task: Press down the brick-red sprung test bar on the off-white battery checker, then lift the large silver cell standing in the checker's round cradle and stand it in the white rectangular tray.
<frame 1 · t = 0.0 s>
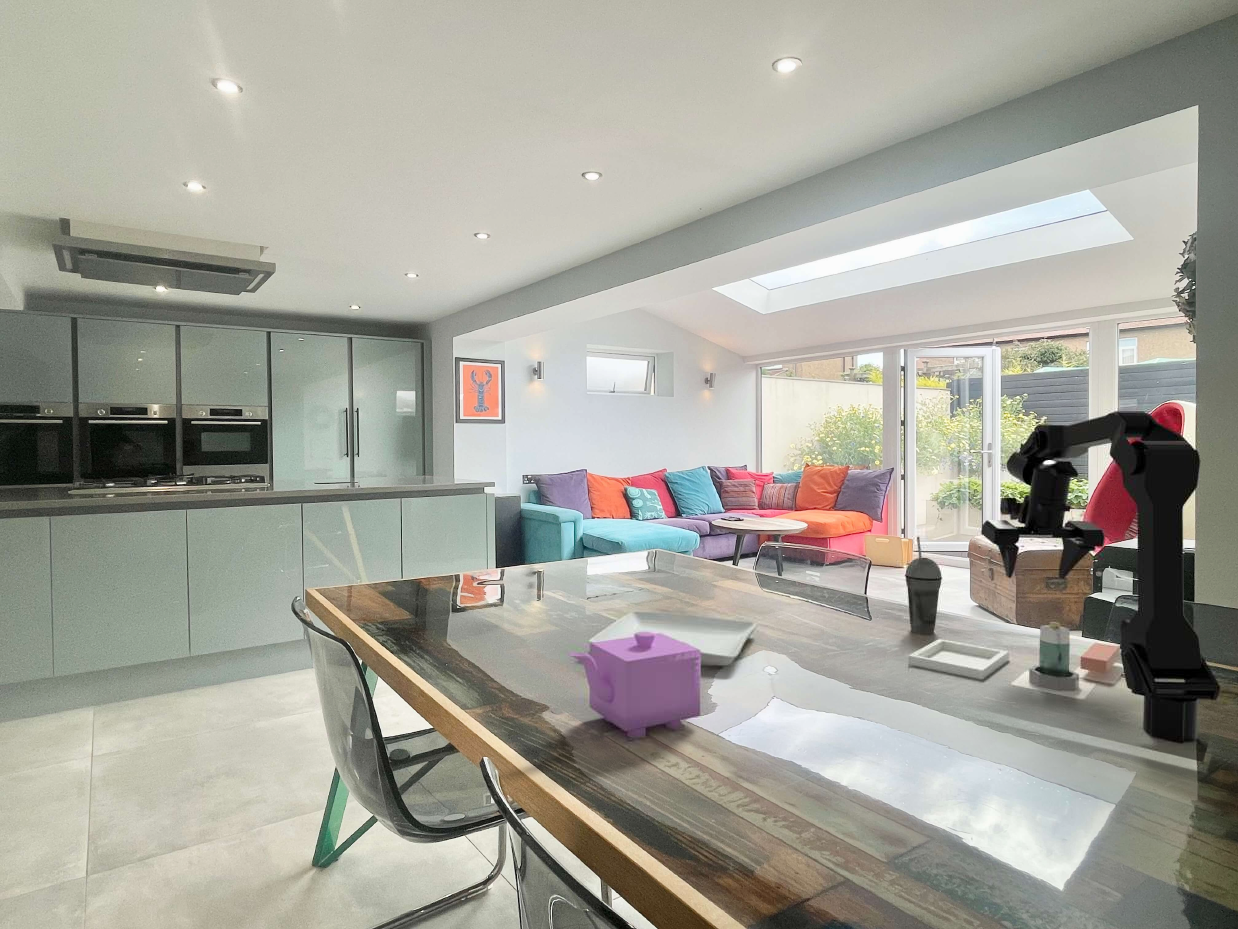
hand: (1034, 577, 130), 15 cm above the table, tool pointing down, fingers open, 9 cm apart
silver cell: (1053, 684, 116), point 1 cm above the table, touching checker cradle
teapot: (634, 725, 101), on the table
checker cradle: (1053, 690, 116), on the table
test bar: (1100, 657, 123), point 3 cm above the table, slide at 0.0 cm
square plate: (677, 649, 140), on the table
beverage cup: (922, 632, 153), on the table
white rectangular tray: (958, 667, 128), on the table
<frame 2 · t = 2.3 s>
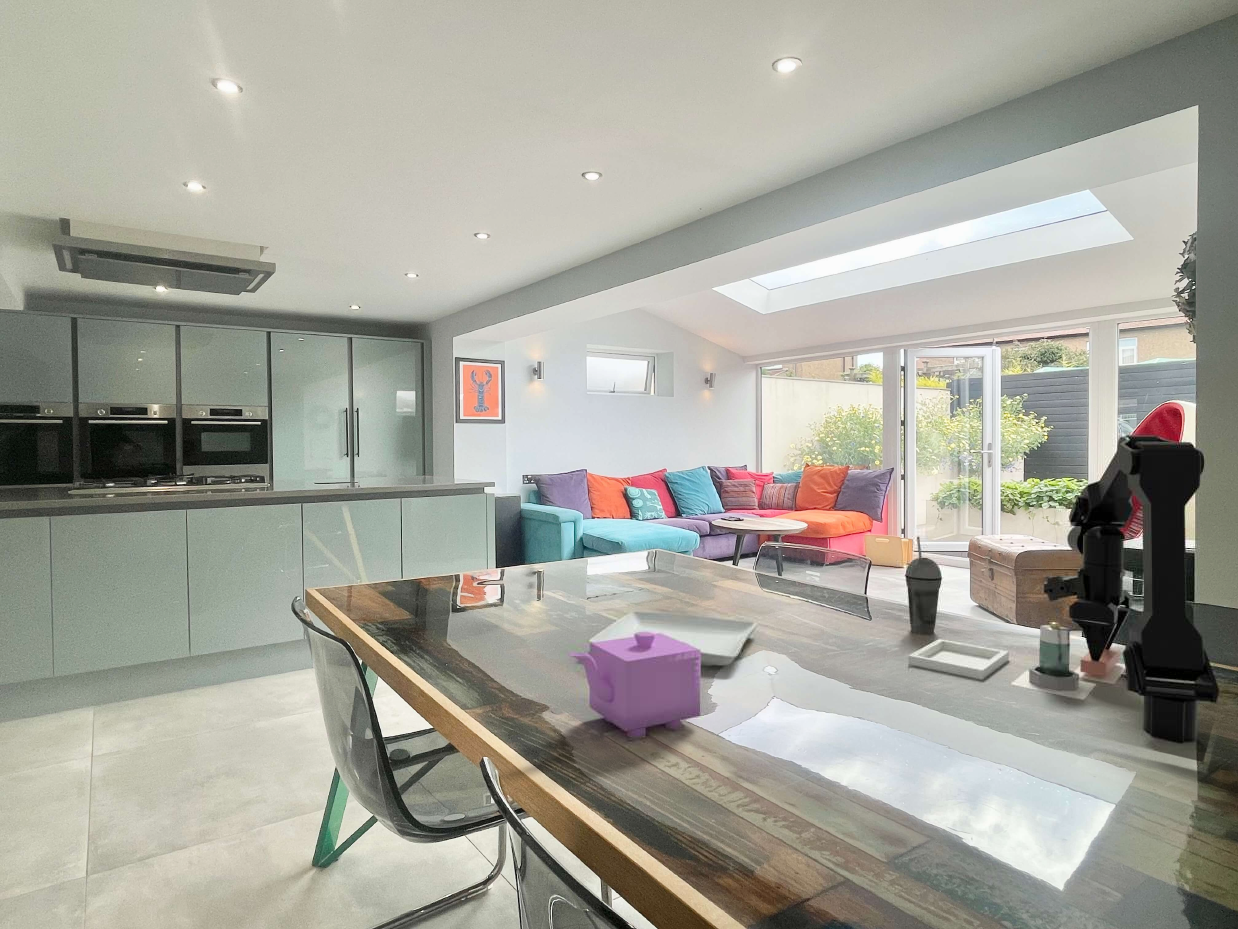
hand: (1100, 654, 123), 4 cm above the table, tool pointing down
test bar: (1100, 660, 123), point 3 cm above the table, slide at 0.5 cm, touching gripper
everything else where it was.
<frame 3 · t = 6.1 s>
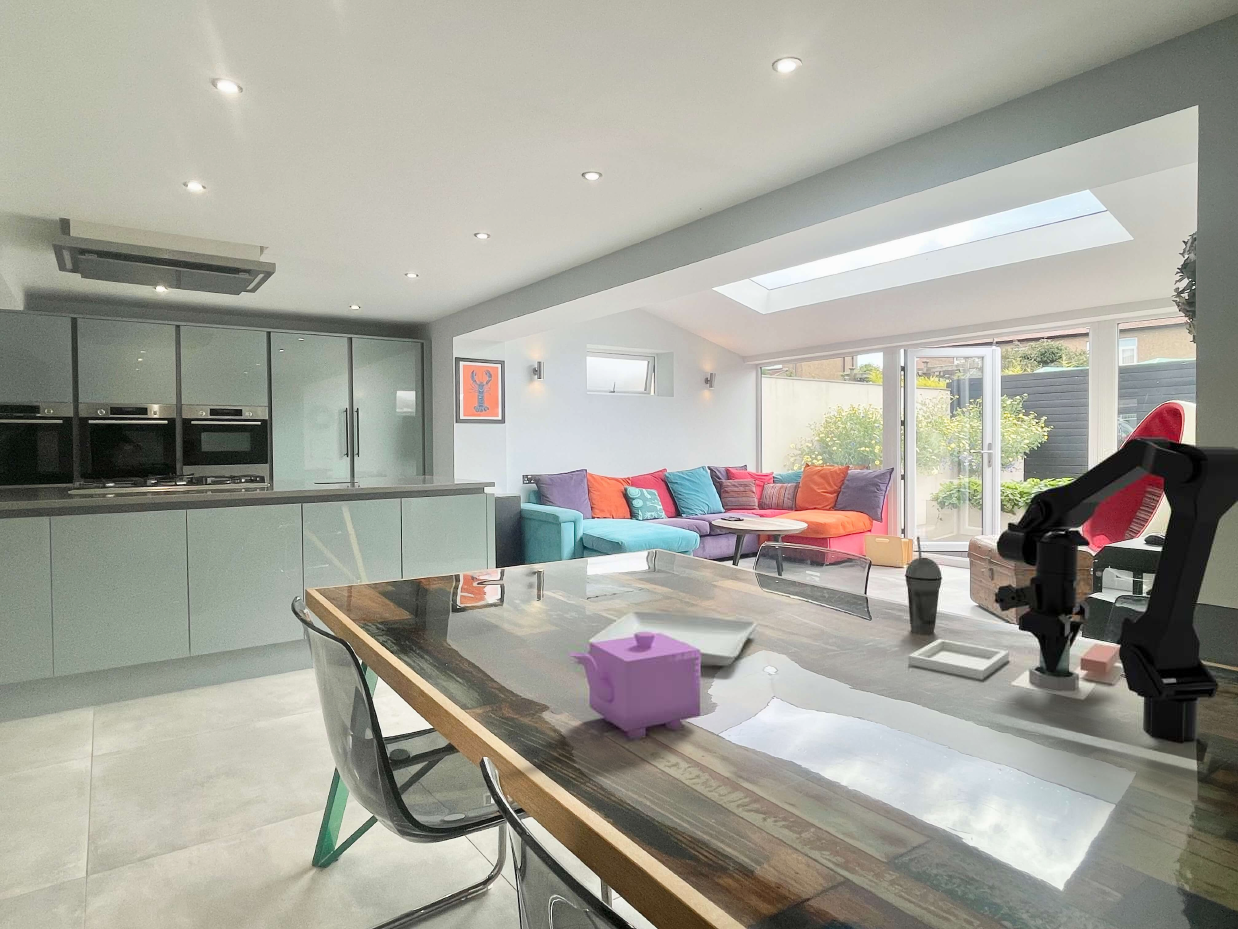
hand: (1054, 668, 116), 4 cm above the table, tool pointing down, fingers closed on silver cell, 4 cm apart
silver cell: (1053, 684, 116), point 1 cm above the table, touching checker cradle, gripper
test bar: (1100, 658, 123), point 3 cm above the table, slide at 0.2 cm
everything else where it was.
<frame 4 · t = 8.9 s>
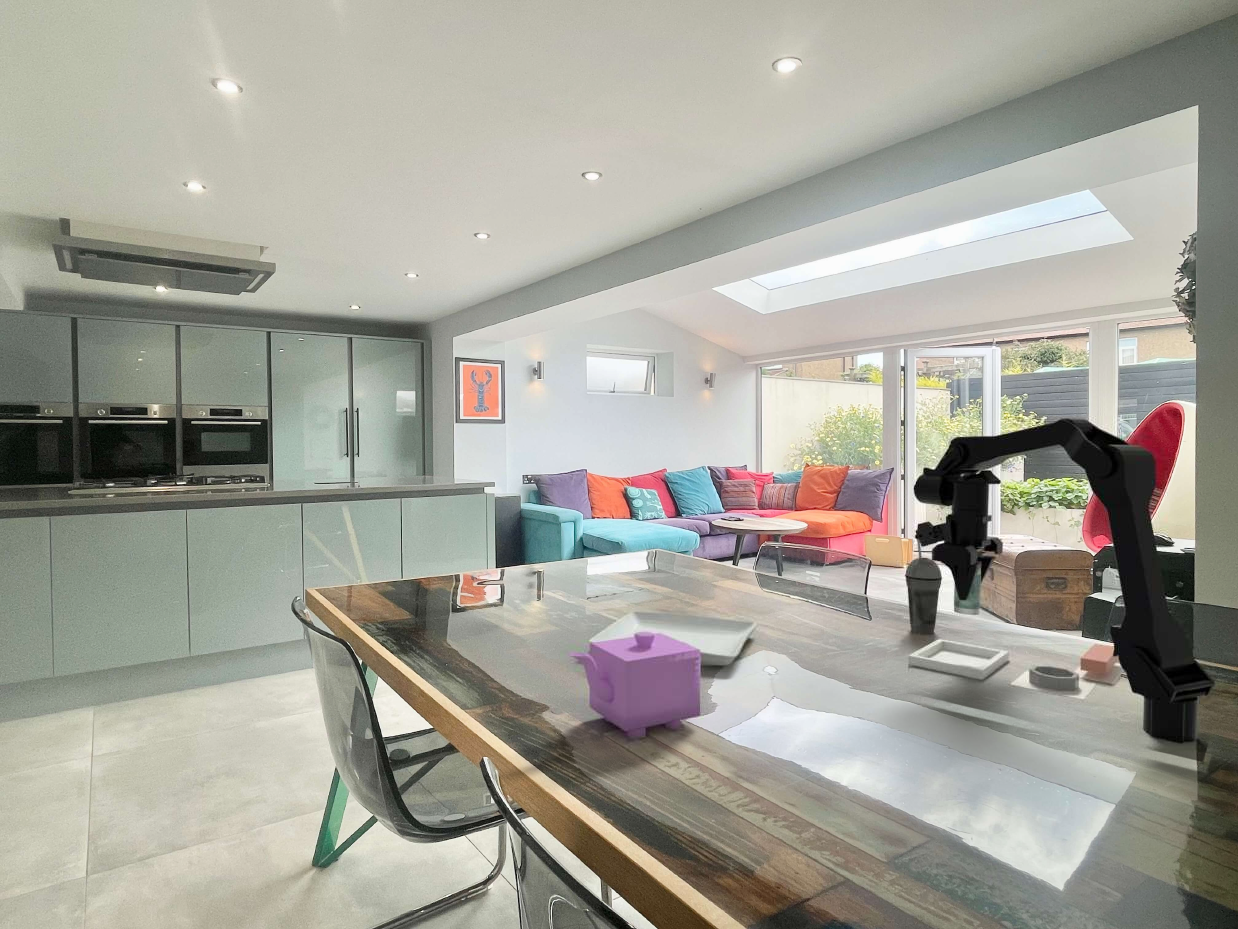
hand: (966, 598, 127), 12 cm above the table, tool pointing down, fingers closed on silver cell, 4 cm apart
silver cell: (966, 612, 127), point 10 cm above the table, touching gripper
everything else where it was.
when the fingers open (4 cm above the table, at t = 11.2 s): silver cell stays where it is, resting on white rectangular tray.
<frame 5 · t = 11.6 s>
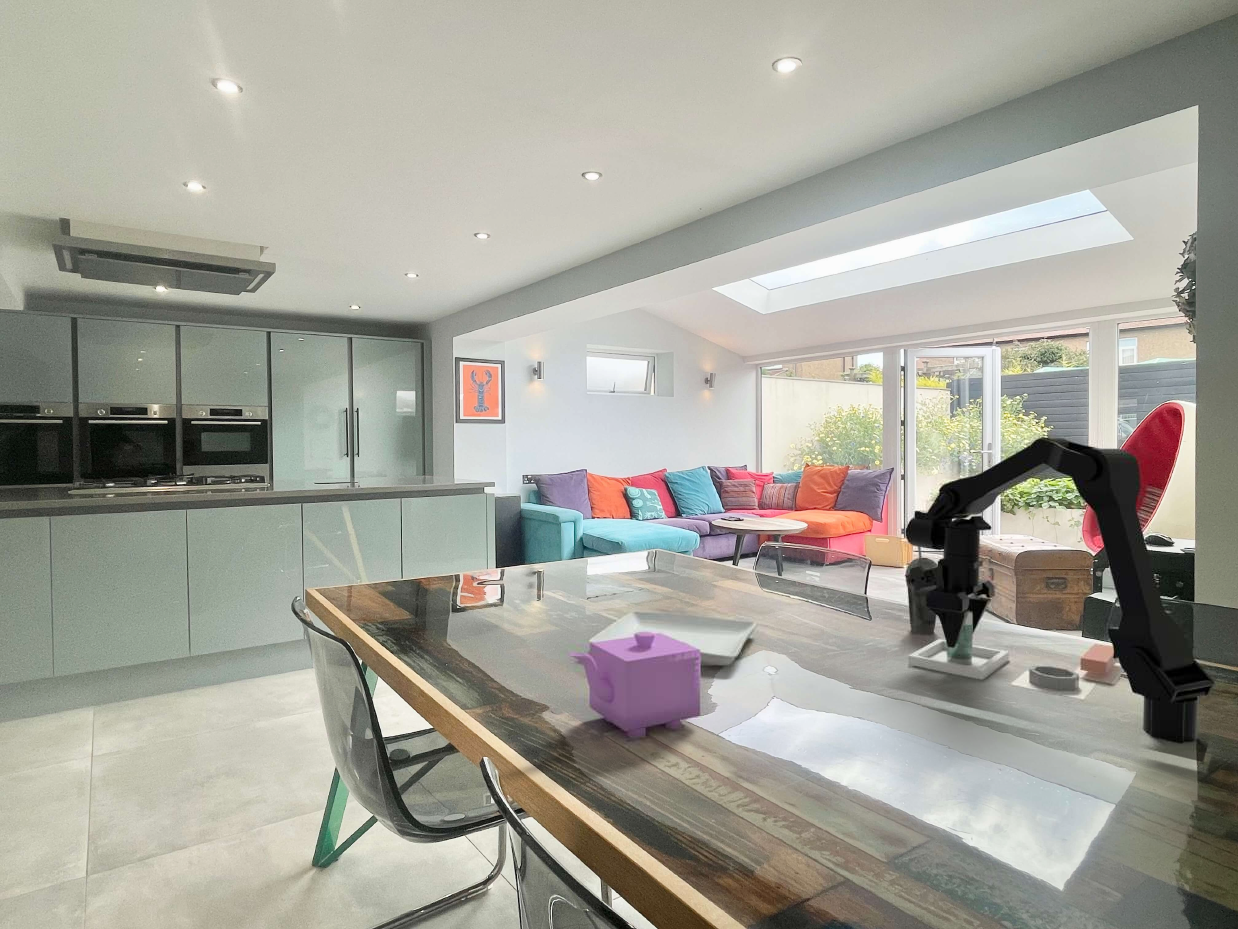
hand: (959, 642, 127), 4 cm above the table, tool pointing down, fingers open, 8 cm apart
silver cell: (959, 662, 128), point 1 cm above the table, touching white rectangular tray
everything else where it was.
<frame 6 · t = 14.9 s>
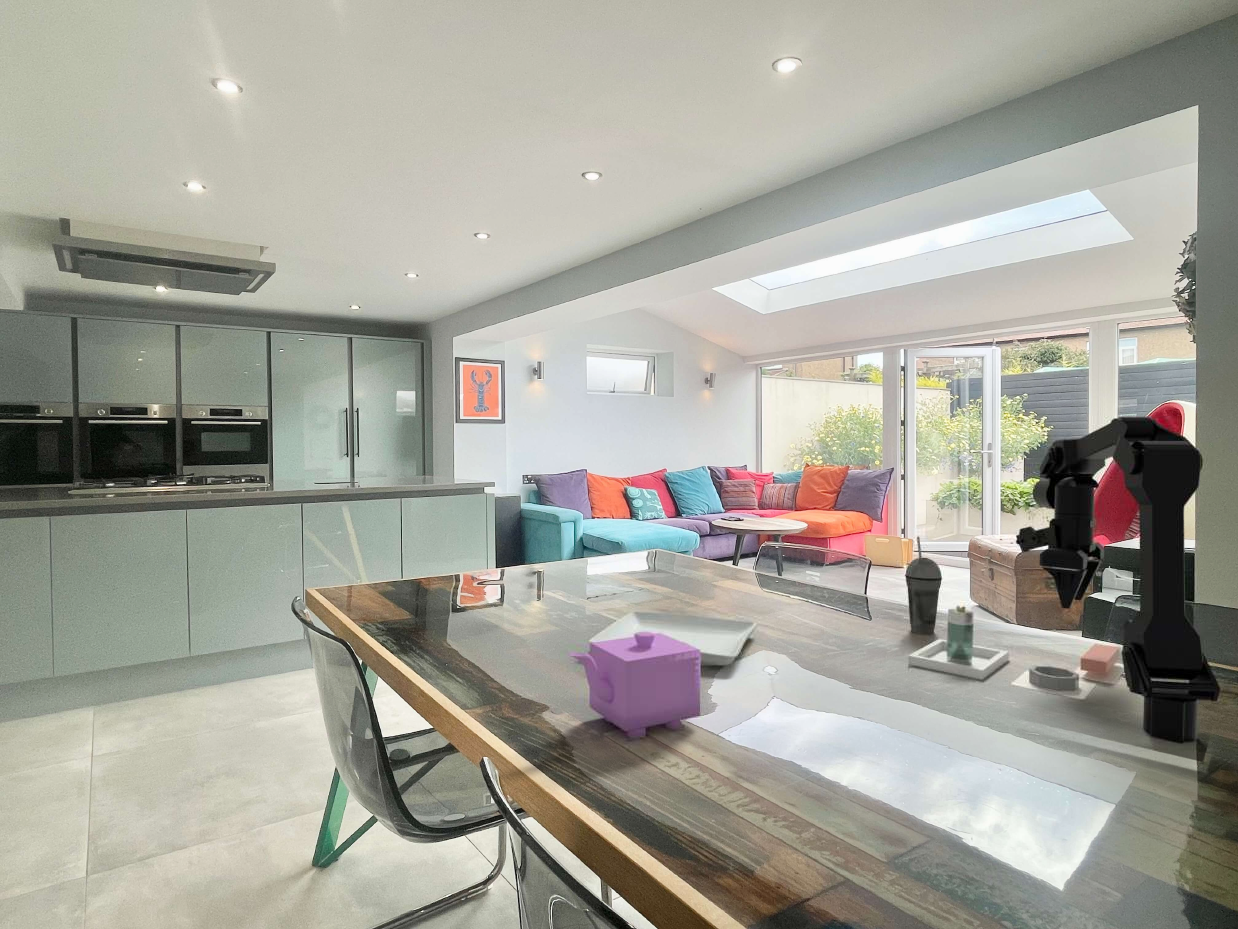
hand: (1071, 604, 124), 12 cm above the table, tool pointing down, fingers open, 9 cm apart
nothing on the table moved.
at the end: silver cell inside the target area on the white rectangular tray (0.0 cm from its centre), point 1.0 cm above the white rectangular tray's base; silver cell tilted 1°; the gripper is holding nothing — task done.
